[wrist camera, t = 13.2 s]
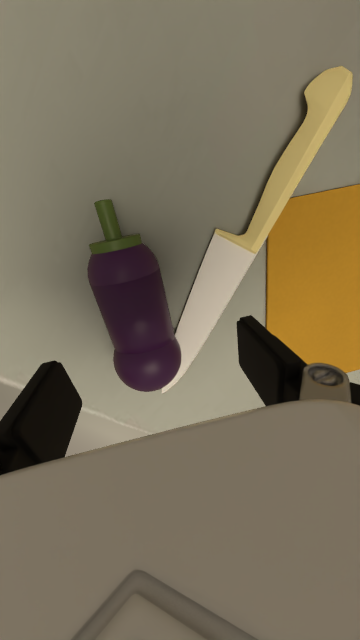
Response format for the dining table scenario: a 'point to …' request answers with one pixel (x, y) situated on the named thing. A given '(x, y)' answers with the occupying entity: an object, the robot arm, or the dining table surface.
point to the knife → (258, 217)
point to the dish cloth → (317, 277)
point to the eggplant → (133, 306)
